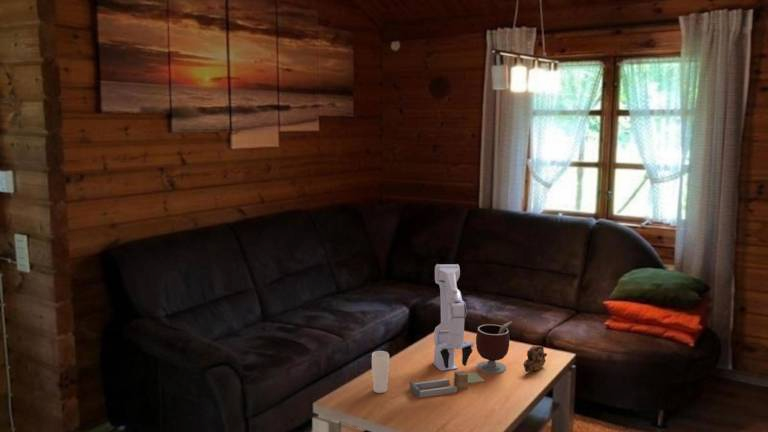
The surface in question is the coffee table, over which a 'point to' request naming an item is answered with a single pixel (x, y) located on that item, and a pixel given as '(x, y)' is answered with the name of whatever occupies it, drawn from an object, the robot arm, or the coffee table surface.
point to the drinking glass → (380, 371)
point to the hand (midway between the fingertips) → (455, 366)
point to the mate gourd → (492, 347)
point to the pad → (474, 378)
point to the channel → (419, 387)
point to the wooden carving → (535, 358)
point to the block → (461, 380)
